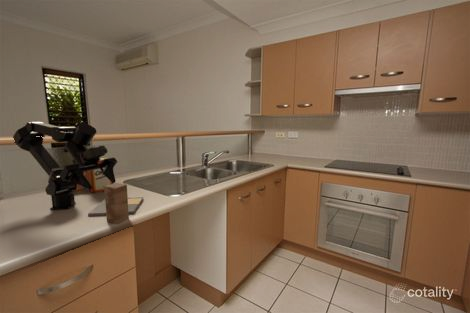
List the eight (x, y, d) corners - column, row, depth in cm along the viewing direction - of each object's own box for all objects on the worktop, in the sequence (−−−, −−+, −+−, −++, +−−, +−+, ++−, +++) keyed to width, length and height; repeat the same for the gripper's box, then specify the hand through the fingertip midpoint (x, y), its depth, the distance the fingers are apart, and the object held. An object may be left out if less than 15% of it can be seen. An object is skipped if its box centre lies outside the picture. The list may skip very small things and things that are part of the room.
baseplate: (88, 216, 83) (87, 213, 83) (105, 200, 99) (105, 198, 99) (133, 213, 86) (133, 211, 86) (143, 199, 102) (143, 197, 102)
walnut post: (106, 221, 79) (104, 186, 77) (118, 216, 84) (116, 182, 82) (117, 224, 77) (114, 188, 75) (128, 218, 82) (126, 184, 80)
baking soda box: (92, 193, 109) (90, 161, 106) (88, 190, 113) (86, 159, 110) (113, 189, 115) (111, 158, 113) (109, 186, 120) (107, 157, 117)
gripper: (61, 140, 72) (87, 178, 69) (112, 137, 89) (135, 166, 86) (49, 162, 76) (73, 198, 74) (100, 155, 93) (121, 184, 91)
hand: (103, 185), depth 81 cm, fingers open, 9 cm apart
